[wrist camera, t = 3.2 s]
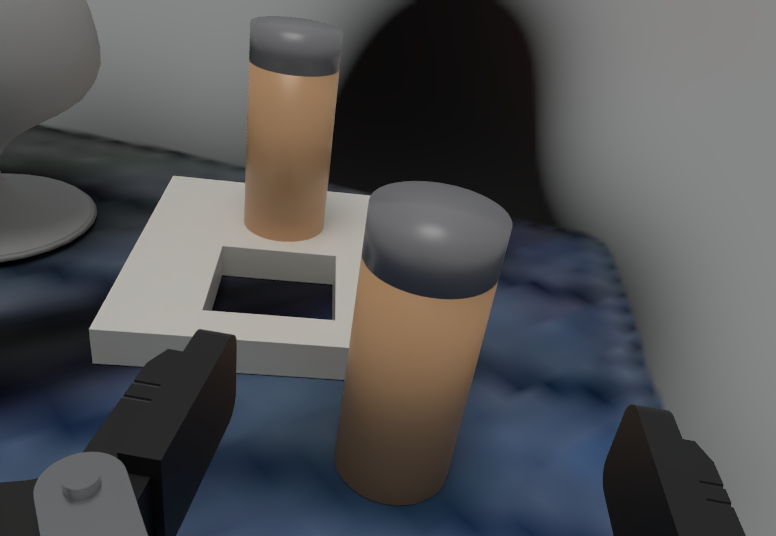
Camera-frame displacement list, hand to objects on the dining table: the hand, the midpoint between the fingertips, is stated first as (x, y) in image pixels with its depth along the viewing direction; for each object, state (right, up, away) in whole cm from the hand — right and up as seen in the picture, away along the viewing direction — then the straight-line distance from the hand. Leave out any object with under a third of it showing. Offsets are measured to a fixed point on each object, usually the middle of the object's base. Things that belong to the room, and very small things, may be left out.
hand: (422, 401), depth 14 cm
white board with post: (-7, +2, +27) cm, 28 cm away
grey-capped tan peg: (-1, -6, +15) cm, 16 cm away
